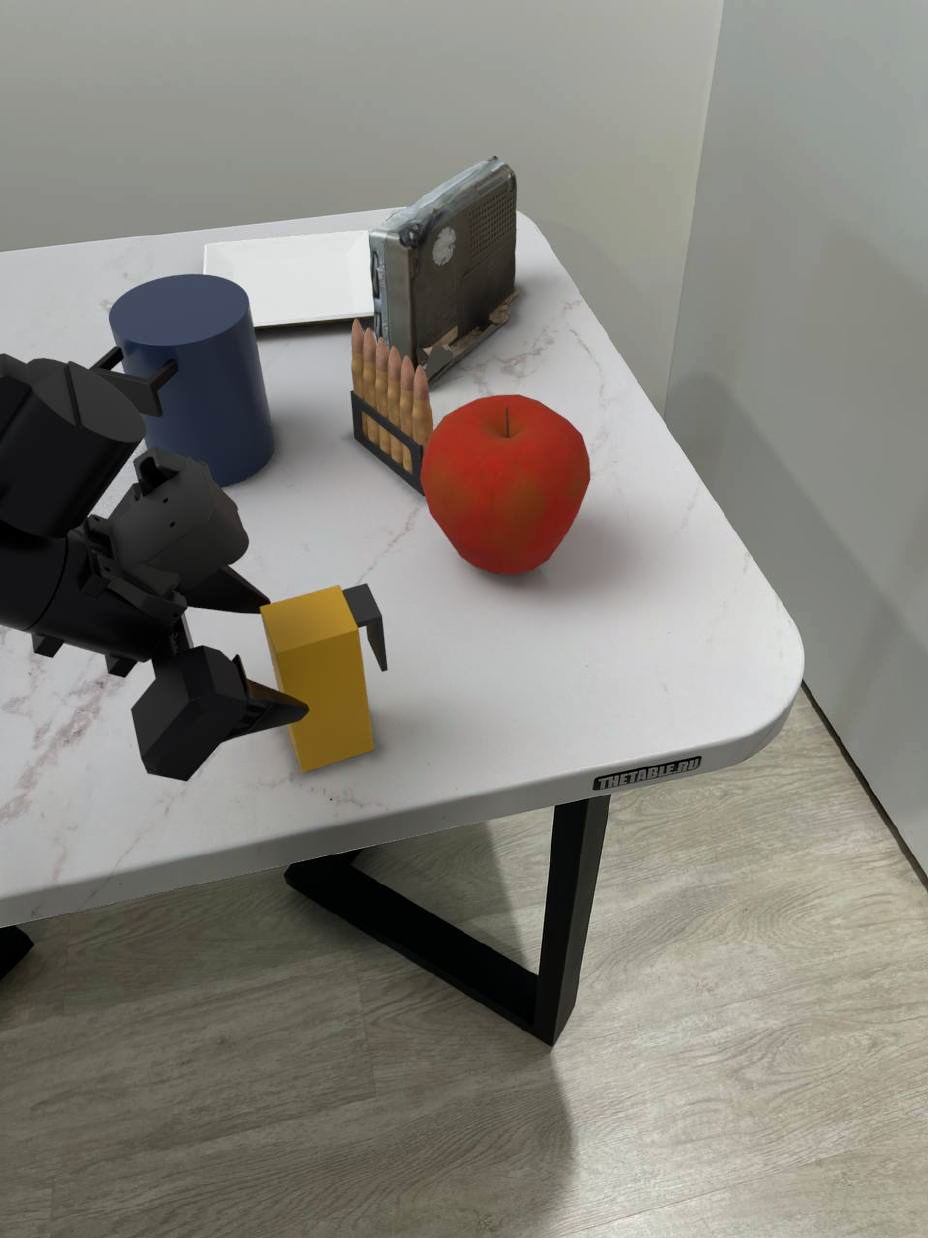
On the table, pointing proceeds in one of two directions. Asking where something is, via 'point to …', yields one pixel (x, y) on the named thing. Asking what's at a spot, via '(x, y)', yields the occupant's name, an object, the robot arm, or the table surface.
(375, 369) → the ammunition clip
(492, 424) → the apple
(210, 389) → the navy blue cylinder
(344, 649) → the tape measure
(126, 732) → the table surface
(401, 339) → the radio
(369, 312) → the plate
